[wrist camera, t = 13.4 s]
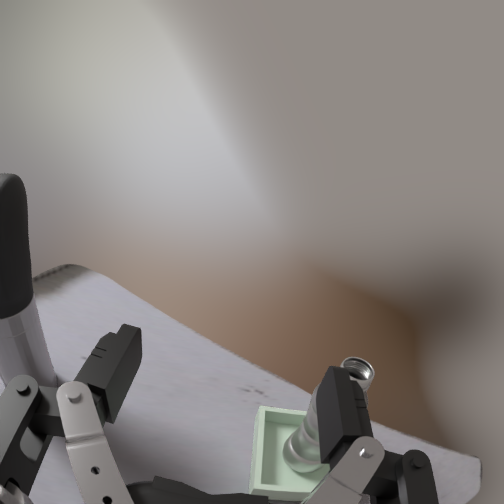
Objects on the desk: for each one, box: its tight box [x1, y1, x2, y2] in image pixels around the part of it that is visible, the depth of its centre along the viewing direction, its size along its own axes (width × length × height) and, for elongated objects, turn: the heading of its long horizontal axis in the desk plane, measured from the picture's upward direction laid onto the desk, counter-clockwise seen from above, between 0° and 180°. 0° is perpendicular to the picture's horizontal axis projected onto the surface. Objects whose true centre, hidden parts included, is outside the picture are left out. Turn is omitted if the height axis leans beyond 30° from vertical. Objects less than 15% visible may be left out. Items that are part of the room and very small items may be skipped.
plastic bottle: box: [282, 357, 375, 473], centre depth 33 cm, size 6×7×20 cm
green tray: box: [249, 406, 330, 501], centre depth 37 cm, size 14×14×4 cm
